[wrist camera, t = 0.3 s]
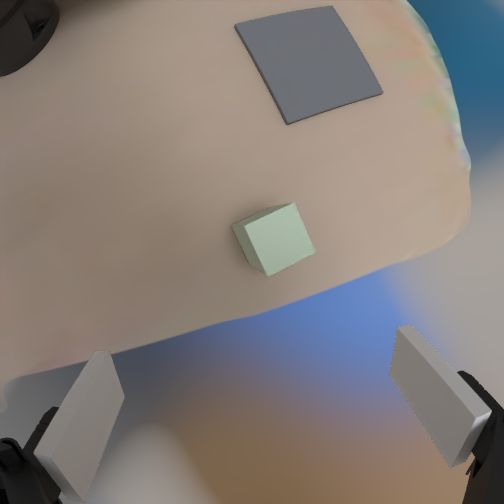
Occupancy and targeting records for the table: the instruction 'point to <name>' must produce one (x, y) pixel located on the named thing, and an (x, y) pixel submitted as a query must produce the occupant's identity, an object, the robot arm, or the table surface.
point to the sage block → (274, 238)
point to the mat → (308, 61)
